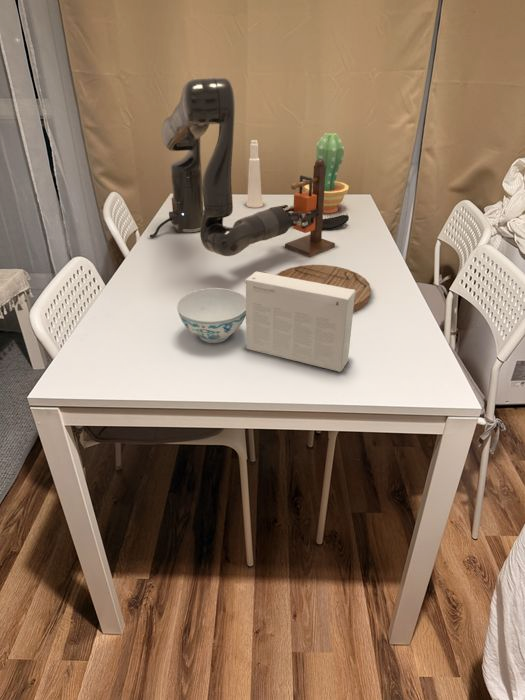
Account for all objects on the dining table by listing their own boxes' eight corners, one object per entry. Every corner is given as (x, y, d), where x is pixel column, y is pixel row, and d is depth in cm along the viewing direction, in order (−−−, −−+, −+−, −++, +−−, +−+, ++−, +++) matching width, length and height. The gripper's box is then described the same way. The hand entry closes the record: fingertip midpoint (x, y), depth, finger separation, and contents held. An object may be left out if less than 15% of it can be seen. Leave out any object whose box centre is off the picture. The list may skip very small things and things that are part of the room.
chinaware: (222, 361, 109) (220, 328, 105) (165, 340, 116) (161, 309, 112) (261, 329, 120) (261, 298, 116) (207, 312, 126) (205, 282, 122)
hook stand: (302, 260, 152) (306, 169, 138) (277, 250, 158) (278, 162, 144) (334, 246, 160) (341, 160, 146) (309, 237, 166) (313, 153, 152)
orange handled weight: (305, 233, 152) (308, 179, 144) (292, 228, 155) (294, 176, 147) (314, 229, 154) (317, 177, 146) (302, 225, 157) (304, 173, 149)
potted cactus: (352, 205, 192) (359, 131, 179) (339, 218, 181) (346, 140, 167) (311, 200, 198) (315, 127, 184) (296, 212, 186) (299, 136, 172)
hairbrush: (270, 213, 176) (346, 209, 176) (271, 224, 178) (346, 220, 178) (271, 222, 170) (350, 217, 169) (272, 233, 172) (350, 228, 172)
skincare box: (349, 359, 110) (357, 289, 101) (341, 373, 106) (348, 301, 97) (256, 336, 117) (255, 269, 108) (244, 348, 113) (243, 280, 104)
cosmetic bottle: (242, 205, 193) (241, 140, 181) (253, 201, 196) (253, 137, 185) (255, 208, 189) (255, 143, 177) (266, 204, 193) (266, 140, 181)
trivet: (293, 264, 149) (293, 258, 148) (381, 282, 140) (382, 275, 139) (252, 302, 130) (252, 295, 129) (351, 325, 121) (352, 318, 120)
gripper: (287, 217, 137) (331, 202, 147) (249, 204, 146) (293, 191, 156) (287, 244, 141) (329, 229, 151) (250, 230, 150) (292, 216, 160)
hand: (310, 210), depth 154 cm, fingers closed on orange handled weight, 5 cm apart
